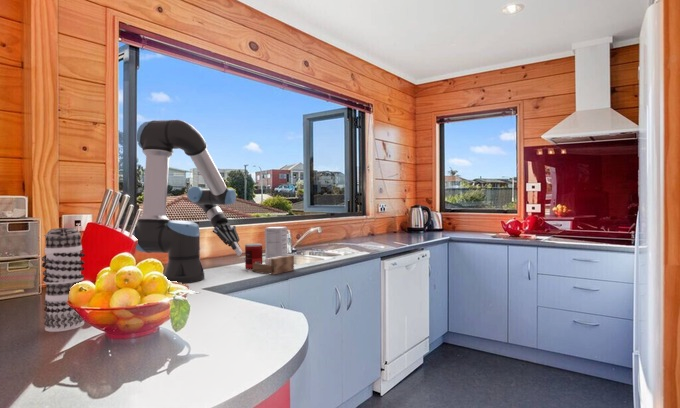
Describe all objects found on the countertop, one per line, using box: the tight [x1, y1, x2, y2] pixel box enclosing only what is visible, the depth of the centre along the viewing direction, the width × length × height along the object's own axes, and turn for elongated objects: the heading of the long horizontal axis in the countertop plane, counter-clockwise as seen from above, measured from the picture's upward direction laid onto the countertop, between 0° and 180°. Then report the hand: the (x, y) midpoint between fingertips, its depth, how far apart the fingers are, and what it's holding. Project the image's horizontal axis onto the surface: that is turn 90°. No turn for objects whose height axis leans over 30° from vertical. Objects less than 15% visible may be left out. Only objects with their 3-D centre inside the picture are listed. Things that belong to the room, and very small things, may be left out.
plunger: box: [264, 256, 283, 265], centre depth 180 cm, size 9×2×6 cm, turn 144°
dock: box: [252, 254, 295, 275], centre depth 180 cm, size 12×13×6 cm
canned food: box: [244, 242, 263, 270], centre depth 188 cm, size 8×8×11 cm
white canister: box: [264, 226, 288, 259], centre depth 215 cm, size 10×9×17 cm
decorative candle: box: [41, 227, 86, 333], centre depth 104 cm, size 9×9×25 cm
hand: (240, 253), depth 194 cm, fingers closed
